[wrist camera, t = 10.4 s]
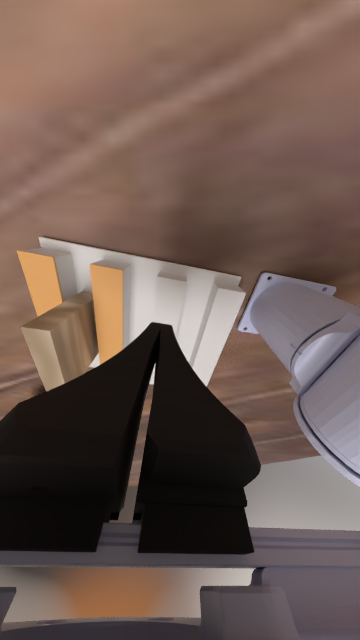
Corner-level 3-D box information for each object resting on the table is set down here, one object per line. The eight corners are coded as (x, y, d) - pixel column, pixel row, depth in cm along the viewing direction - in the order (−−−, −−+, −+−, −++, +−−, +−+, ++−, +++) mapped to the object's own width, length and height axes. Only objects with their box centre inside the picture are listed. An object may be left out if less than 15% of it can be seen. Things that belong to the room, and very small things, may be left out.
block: (99, 293, 18) (49, 331, 11) (103, 345, 22) (68, 396, 15) (82, 290, 18) (20, 326, 11) (89, 343, 22) (47, 394, 15)
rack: (239, 276, 18) (251, 284, 15) (200, 378, 26) (203, 395, 24) (43, 237, 16) (12, 237, 13) (71, 361, 24) (57, 378, 22)
